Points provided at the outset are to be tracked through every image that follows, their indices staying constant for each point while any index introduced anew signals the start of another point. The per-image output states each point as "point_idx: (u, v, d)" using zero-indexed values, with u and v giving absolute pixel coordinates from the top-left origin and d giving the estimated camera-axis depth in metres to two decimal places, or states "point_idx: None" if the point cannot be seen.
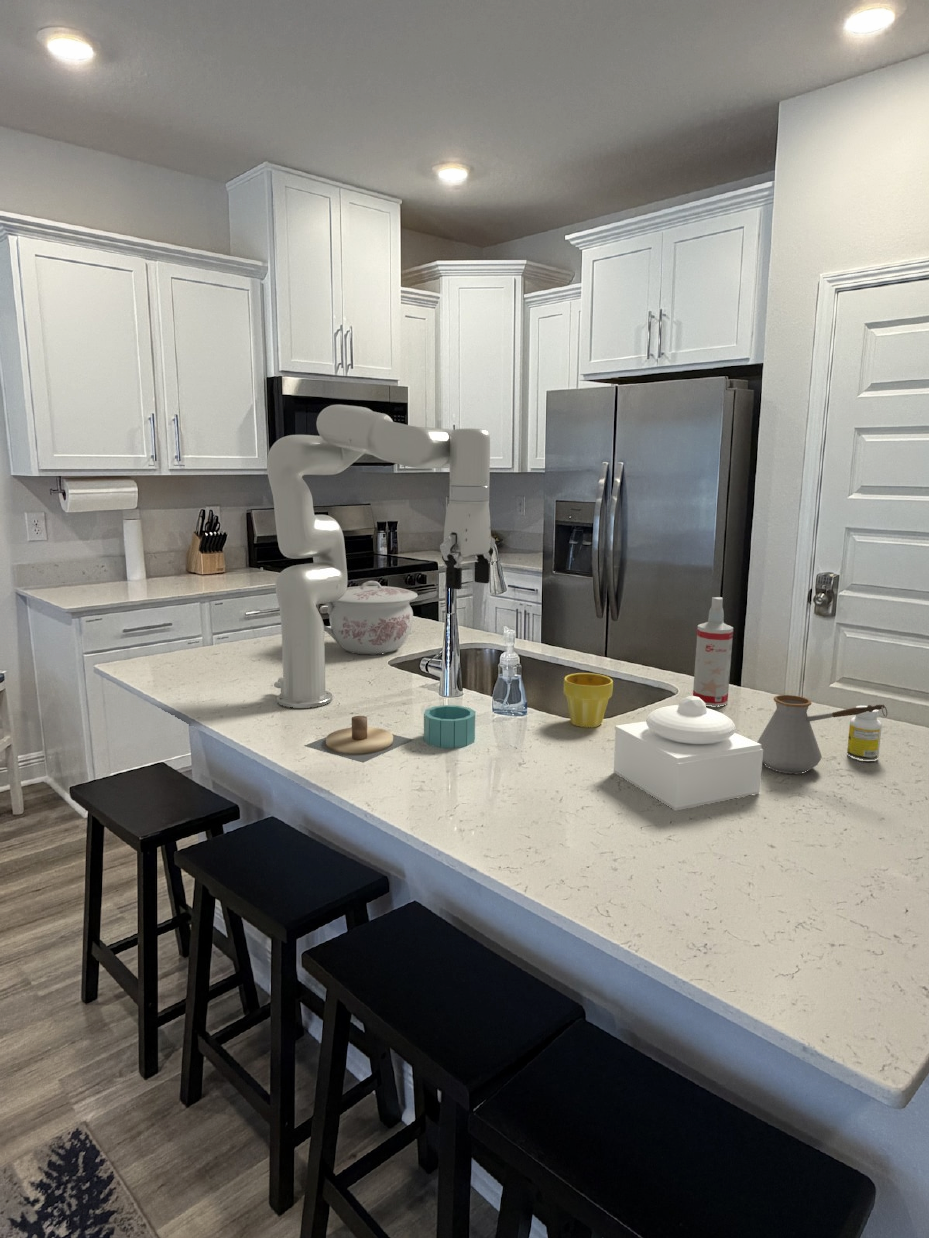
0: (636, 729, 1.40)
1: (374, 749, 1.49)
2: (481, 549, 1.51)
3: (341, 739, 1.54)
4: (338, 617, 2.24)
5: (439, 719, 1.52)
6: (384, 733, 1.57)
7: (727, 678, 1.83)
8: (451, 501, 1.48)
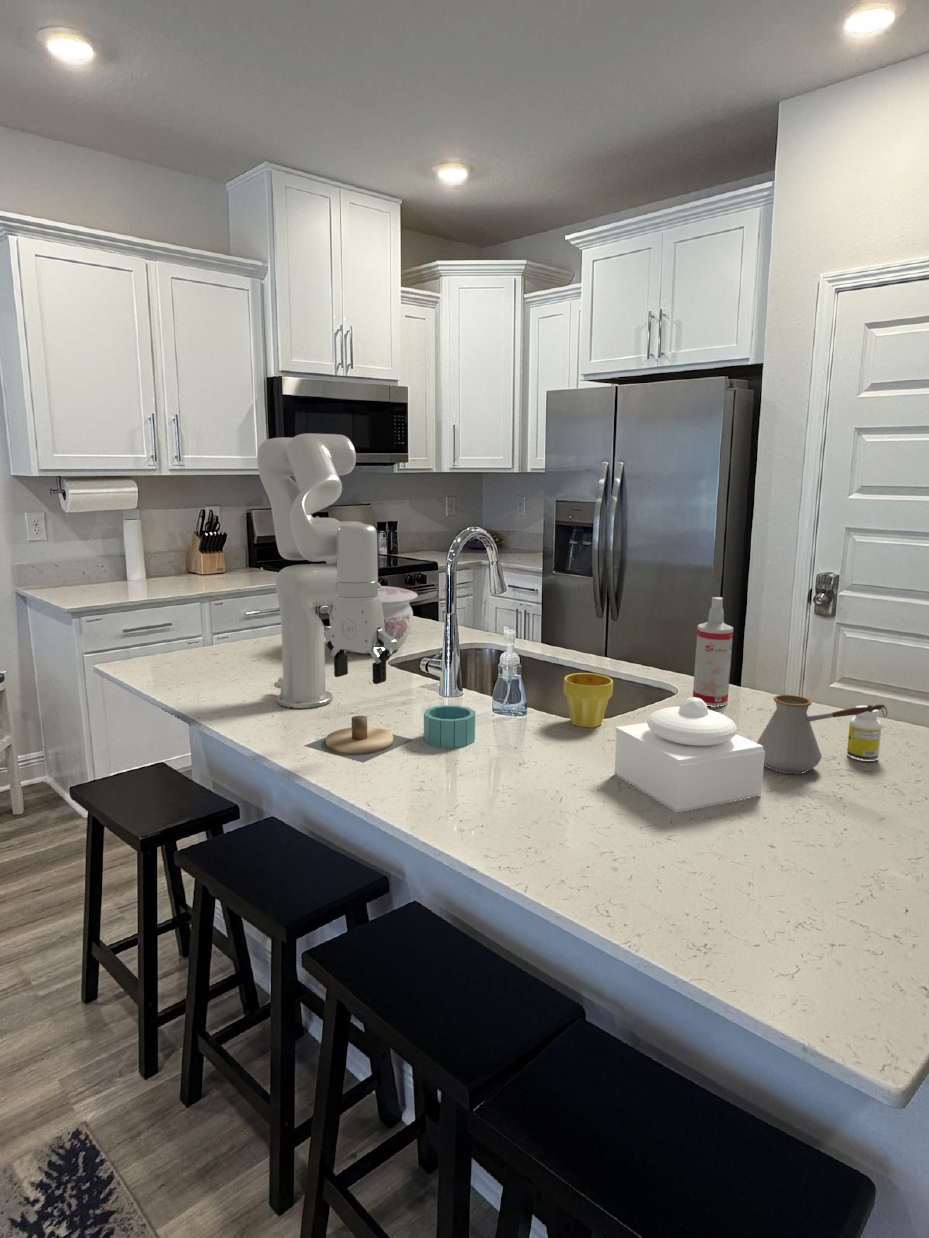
0: (637, 730, 1.39)
1: (374, 749, 1.49)
2: None
3: (341, 739, 1.54)
4: None
5: (439, 719, 1.52)
6: (384, 733, 1.57)
7: (727, 678, 1.83)
8: (364, 598, 1.46)
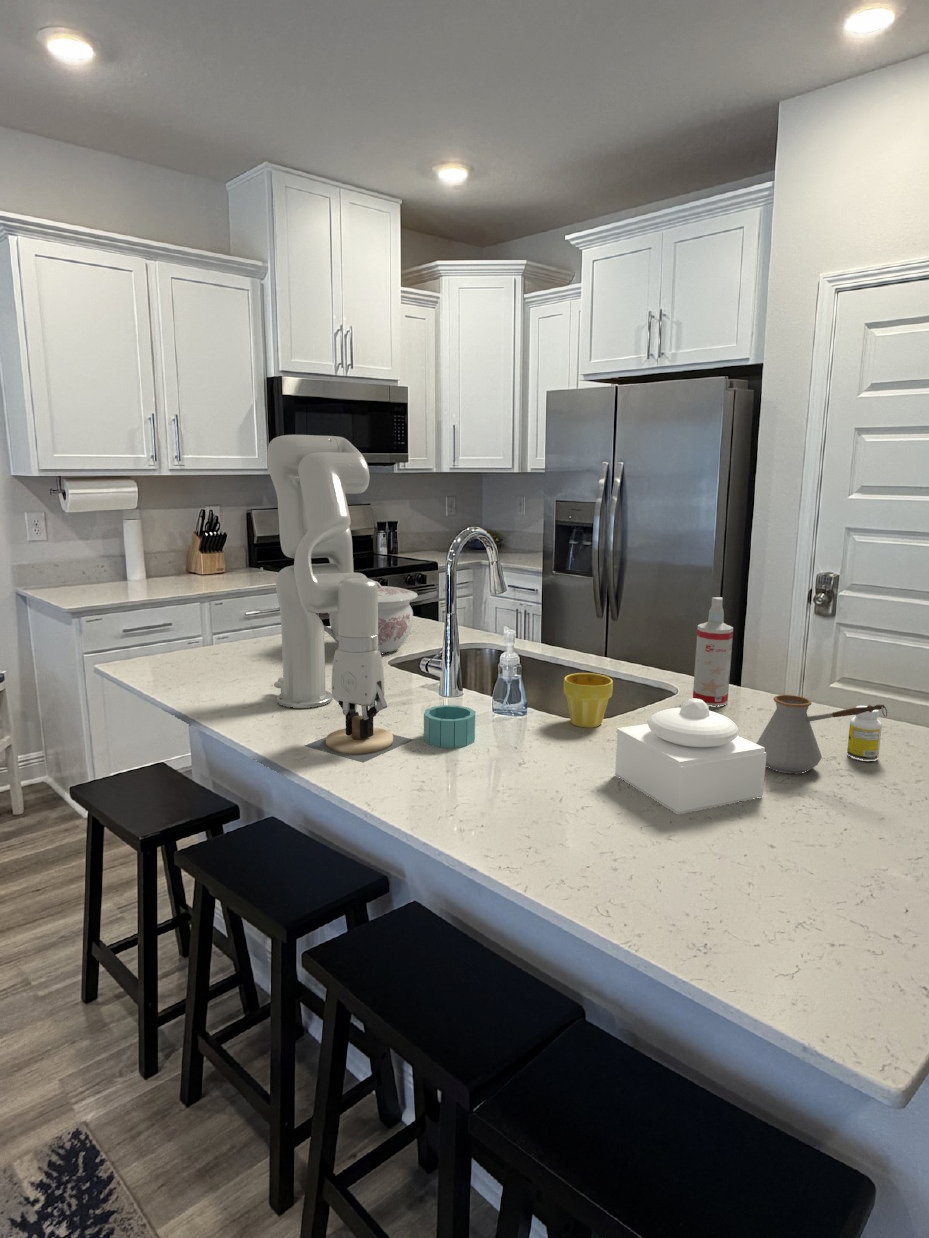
0: (638, 732, 1.38)
1: (374, 749, 1.49)
2: None
3: (341, 739, 1.53)
4: None
5: (439, 719, 1.52)
6: (384, 733, 1.57)
7: (727, 678, 1.83)
8: (364, 652, 1.48)
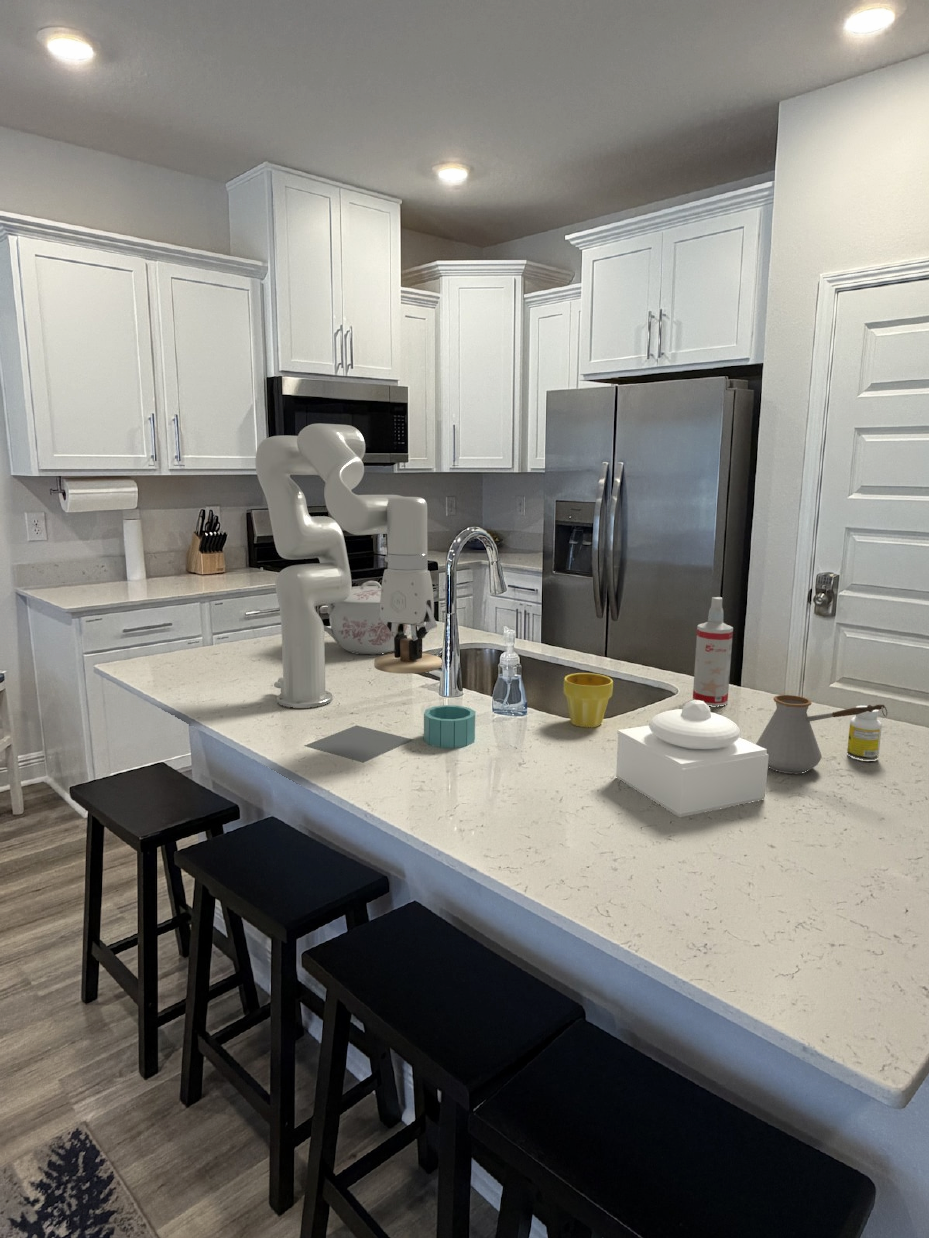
0: (639, 733, 1.37)
1: (424, 669, 1.47)
2: None
3: (390, 661, 1.52)
4: (338, 617, 2.24)
5: (439, 719, 1.52)
6: (432, 657, 1.55)
7: (727, 678, 1.83)
8: (414, 570, 1.46)
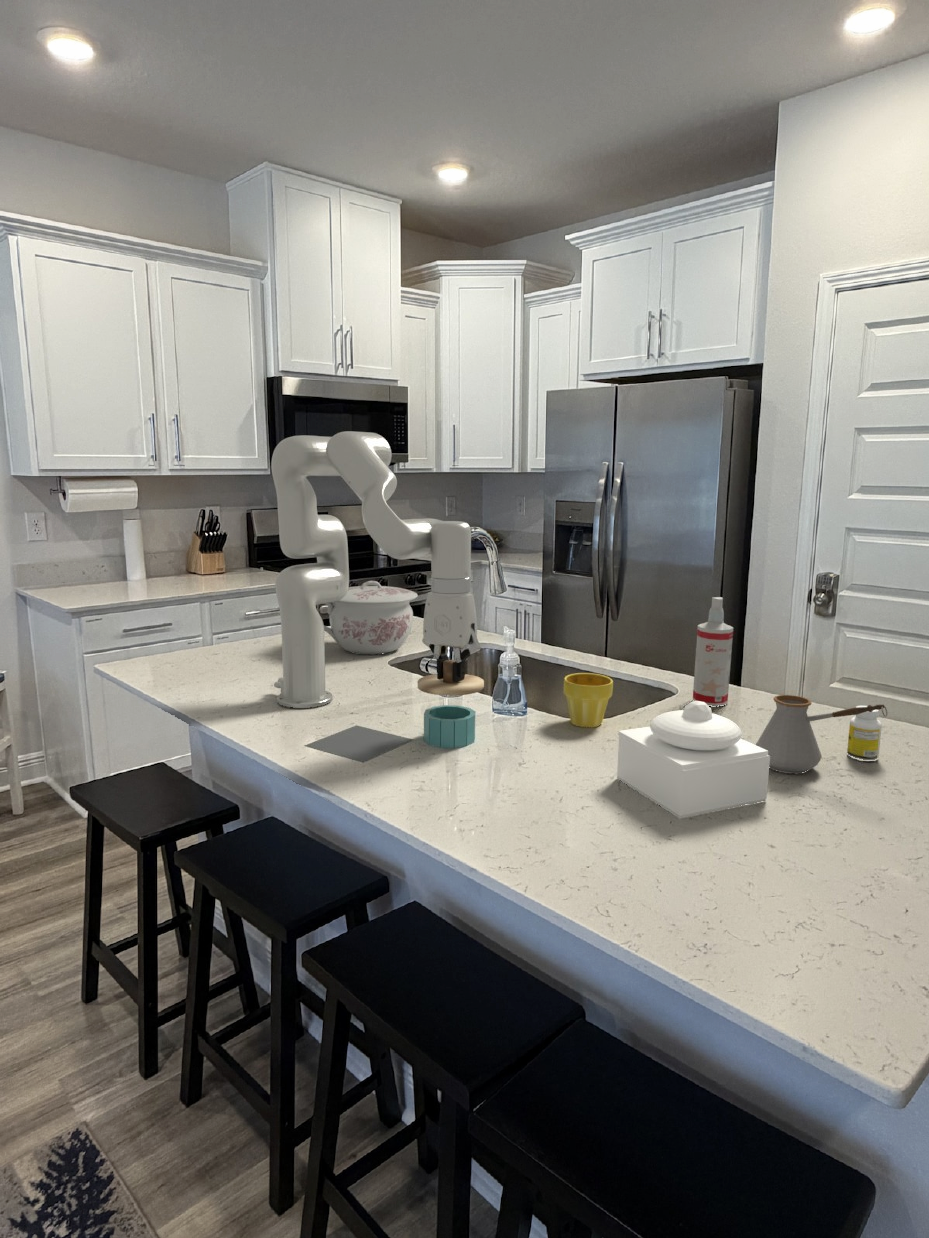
0: (640, 734, 1.37)
1: (469, 690, 1.50)
2: None
3: (433, 682, 1.54)
4: (338, 617, 2.24)
5: (439, 719, 1.52)
6: (473, 678, 1.58)
7: (727, 678, 1.83)
8: (459, 594, 1.48)
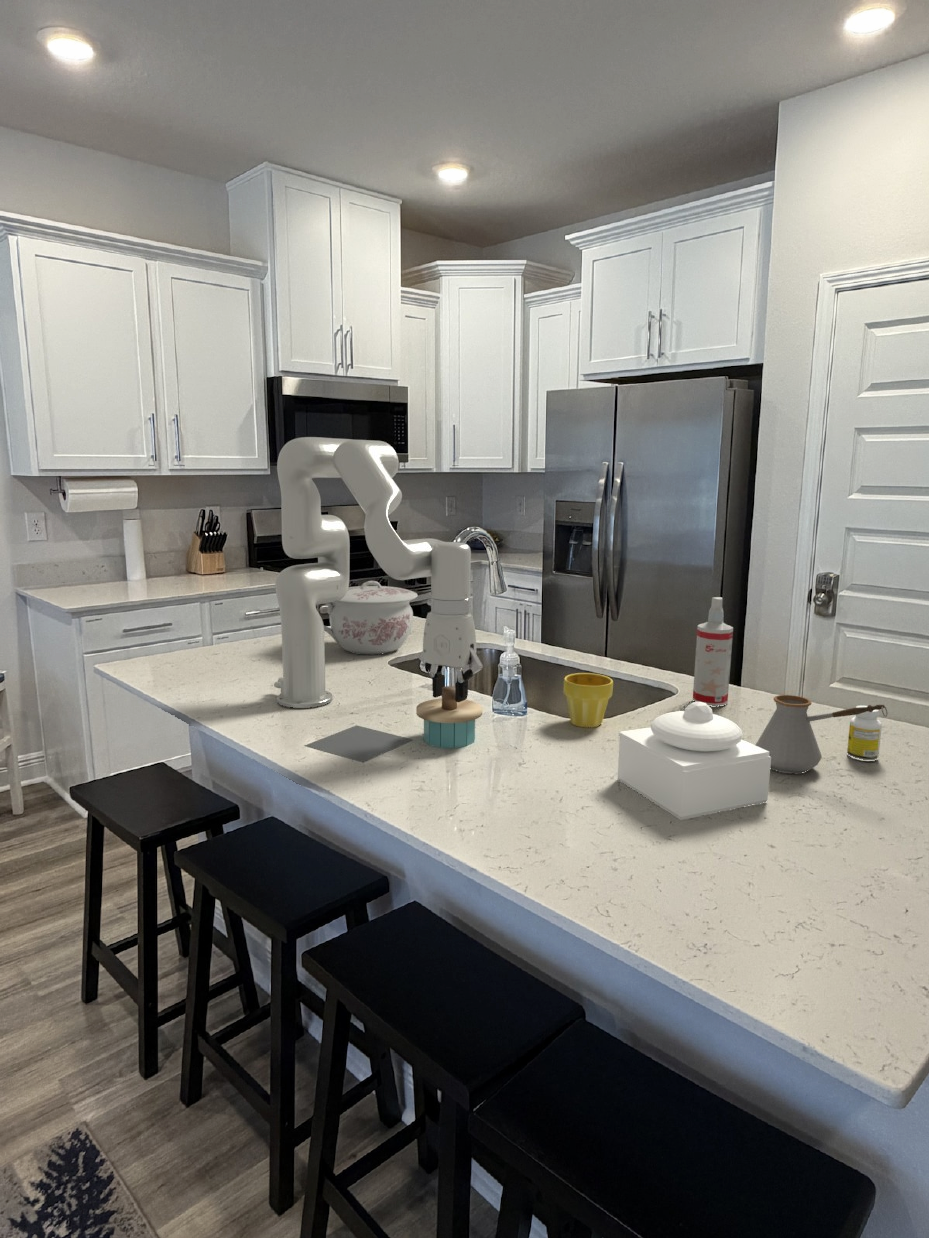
0: (641, 735, 1.36)
1: (467, 718, 1.51)
2: None
3: (432, 709, 1.55)
4: (338, 617, 2.24)
5: None
6: (472, 704, 1.59)
7: (727, 678, 1.83)
8: (458, 615, 1.49)
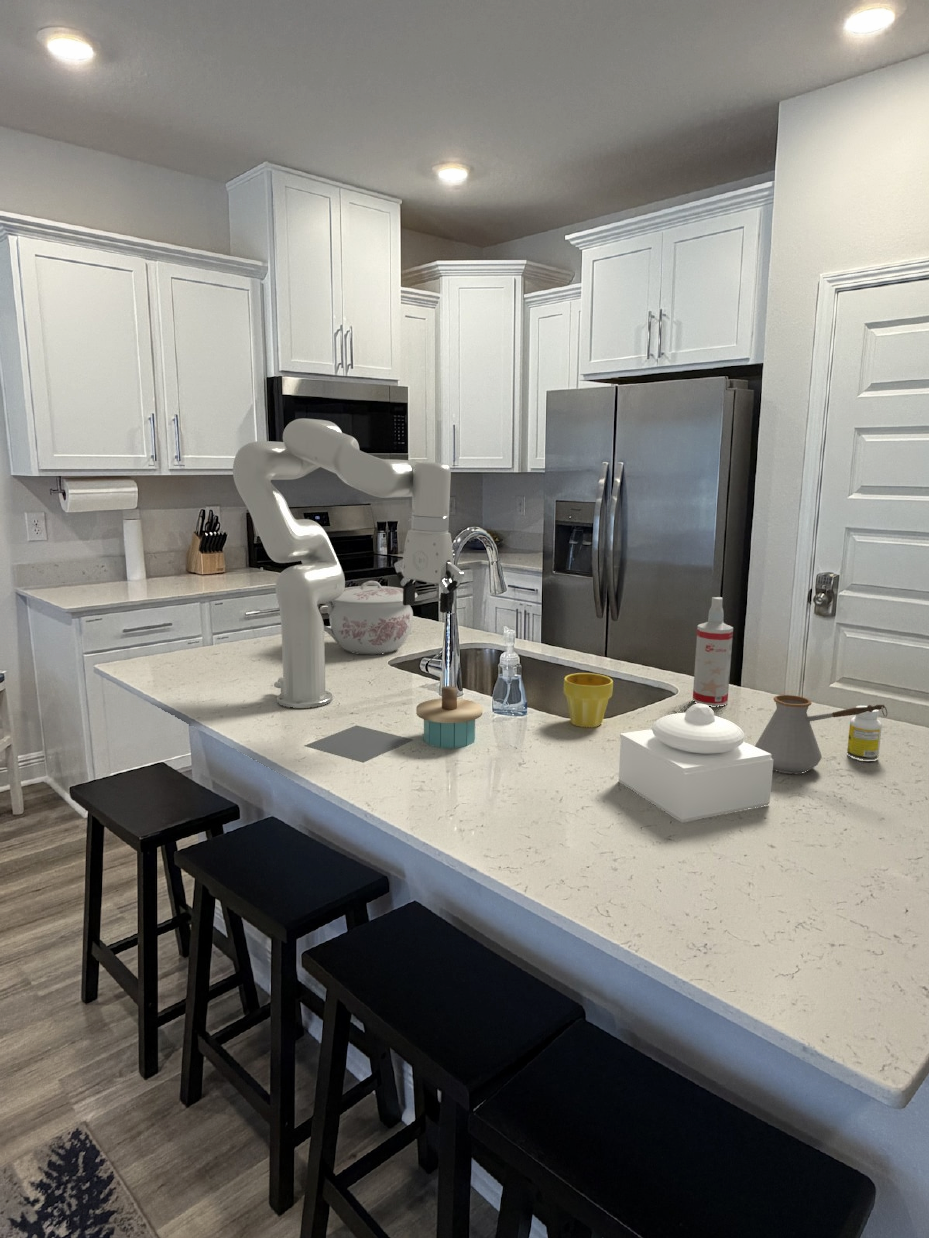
0: (642, 737, 1.35)
1: (467, 718, 1.51)
2: None
3: (432, 709, 1.55)
4: (338, 617, 2.24)
5: None
6: (472, 704, 1.59)
7: (727, 678, 1.83)
8: (436, 532, 1.57)
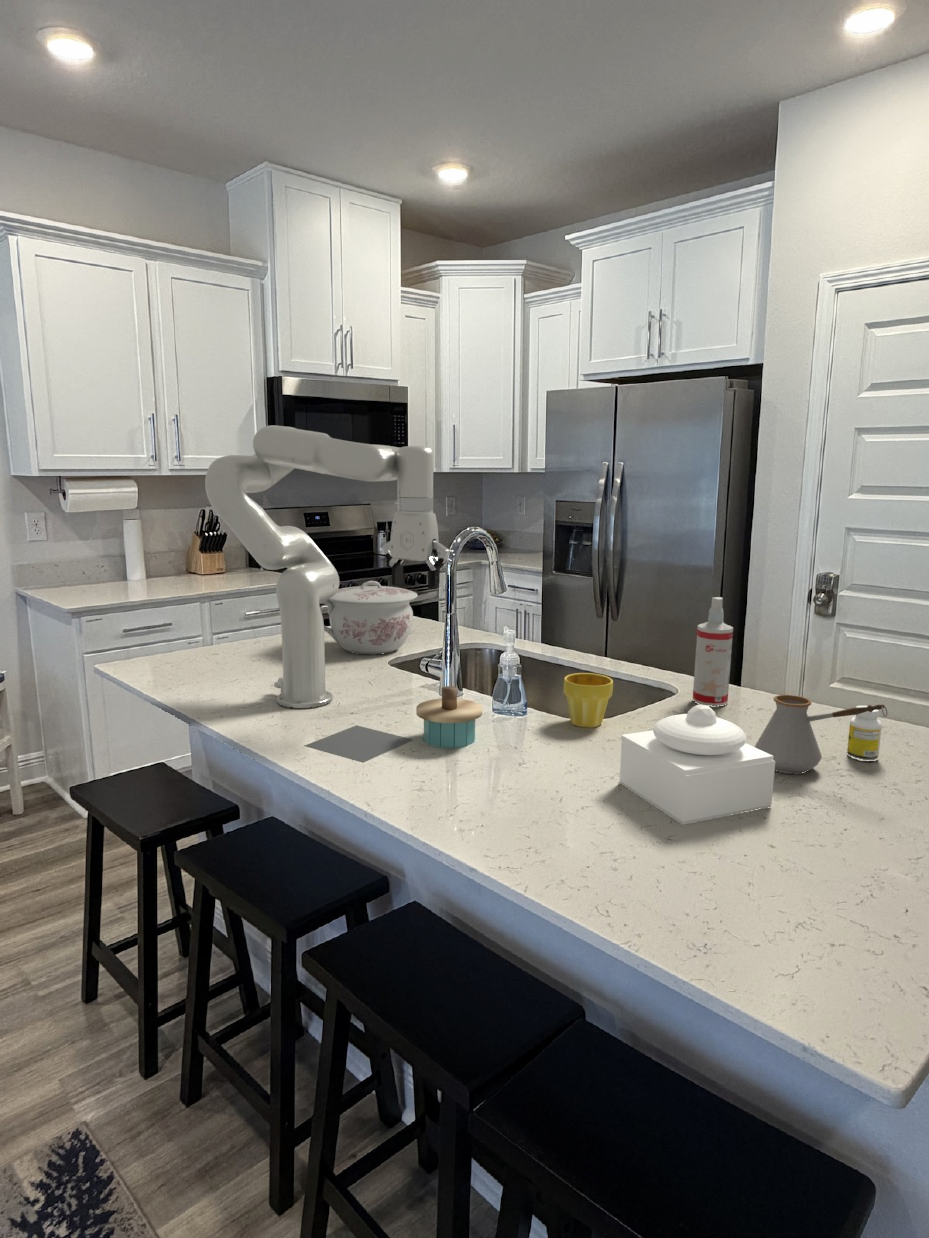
0: (643, 738, 1.35)
1: (467, 718, 1.51)
2: None
3: (432, 709, 1.55)
4: (338, 617, 2.24)
5: None
6: (472, 704, 1.59)
7: (727, 678, 1.83)
8: (422, 512, 1.64)
